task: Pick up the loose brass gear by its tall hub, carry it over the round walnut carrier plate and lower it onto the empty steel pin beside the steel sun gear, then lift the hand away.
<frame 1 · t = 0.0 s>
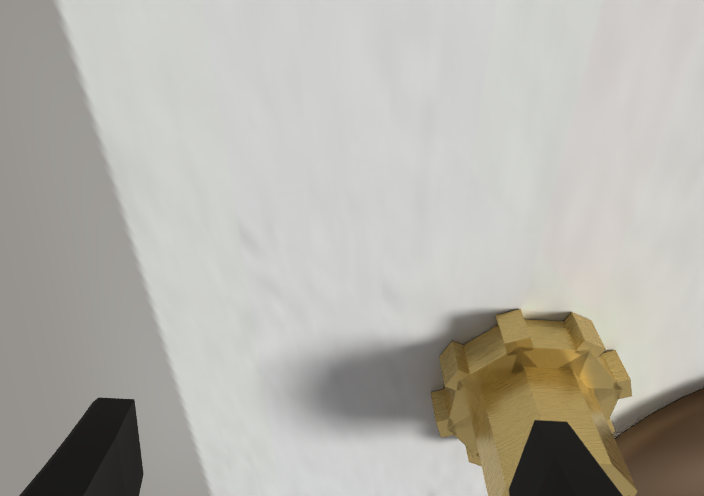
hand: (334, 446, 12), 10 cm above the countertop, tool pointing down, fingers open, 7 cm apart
brass gear: (523, 379, 25), on the countertop
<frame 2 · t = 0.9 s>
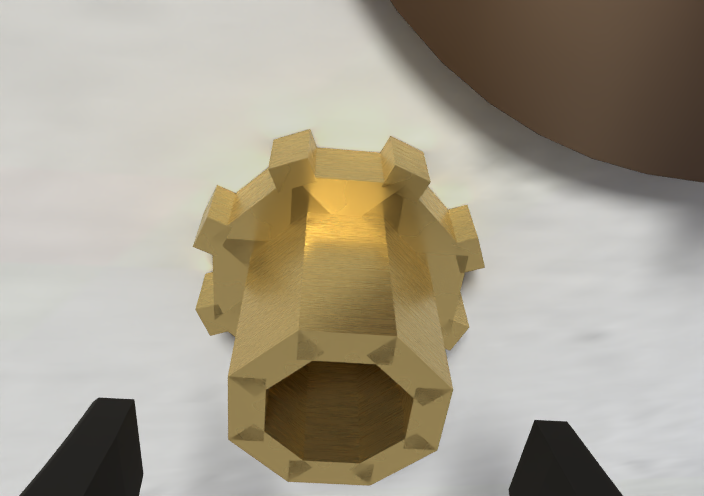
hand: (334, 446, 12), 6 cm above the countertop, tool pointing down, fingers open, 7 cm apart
brass gear: (337, 254, 17), on the countertop
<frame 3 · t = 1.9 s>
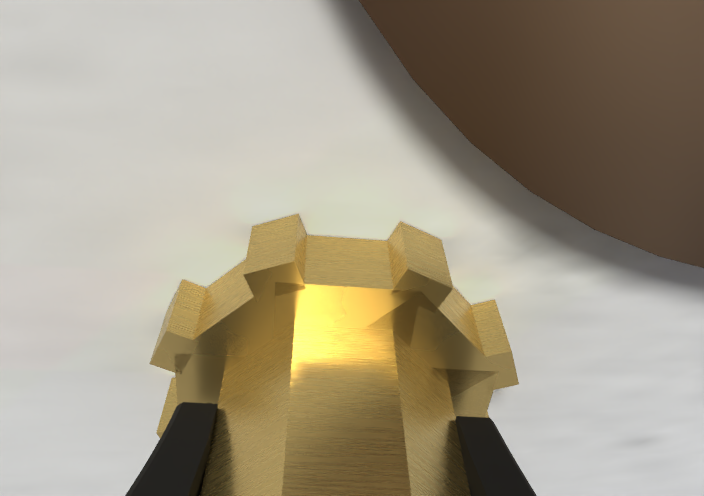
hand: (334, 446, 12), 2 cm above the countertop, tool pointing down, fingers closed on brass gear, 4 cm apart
brass gear: (333, 355, 14), on the countertop, touching gripper
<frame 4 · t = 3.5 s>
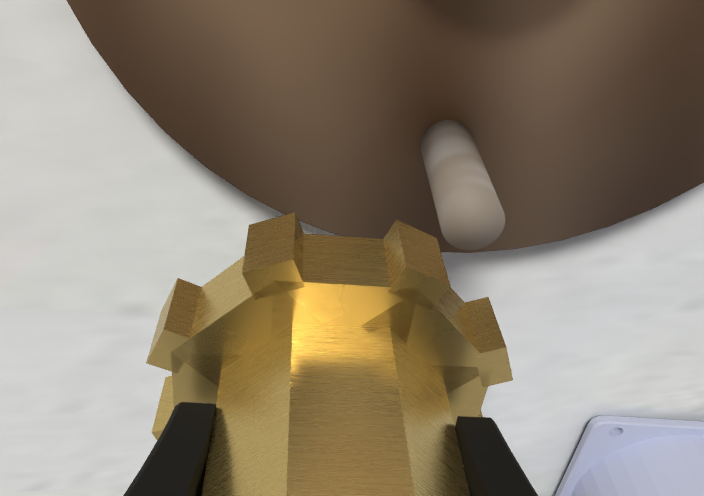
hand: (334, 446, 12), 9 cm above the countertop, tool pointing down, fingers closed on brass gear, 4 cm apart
brass gear: (328, 353, 14), point 7 cm above the countertop, touching gripper
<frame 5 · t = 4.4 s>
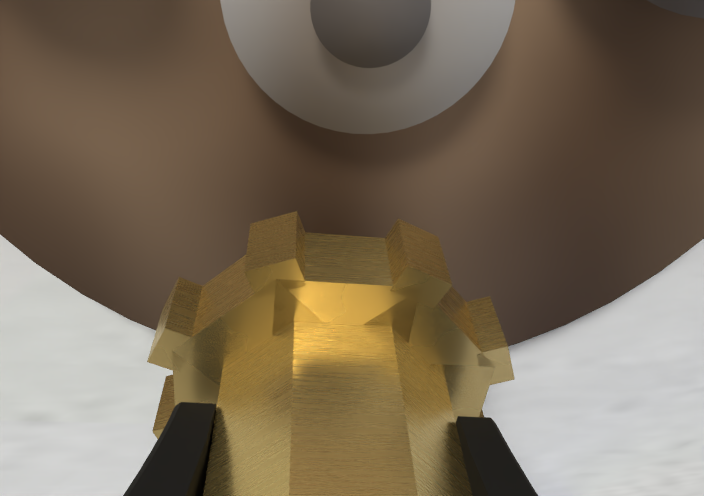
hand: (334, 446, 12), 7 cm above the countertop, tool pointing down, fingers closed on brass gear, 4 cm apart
brass gear: (329, 352, 14), point 4 cm above the countertop, touching gripper
when the fingers open (5 cm above the countertop, at t = 5.3 s): brass gear drops 1 cm, resting on carrier.
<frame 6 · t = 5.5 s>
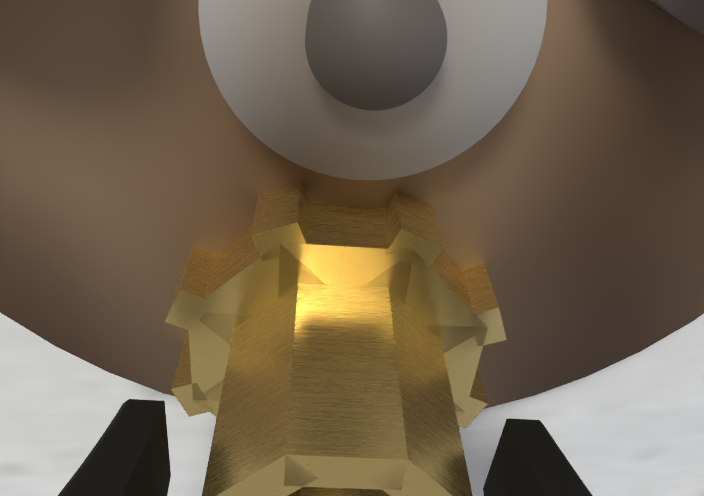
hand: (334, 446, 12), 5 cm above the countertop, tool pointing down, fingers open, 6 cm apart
brass gear: (335, 318, 15), point 1 cm above the countertop, touching carrier
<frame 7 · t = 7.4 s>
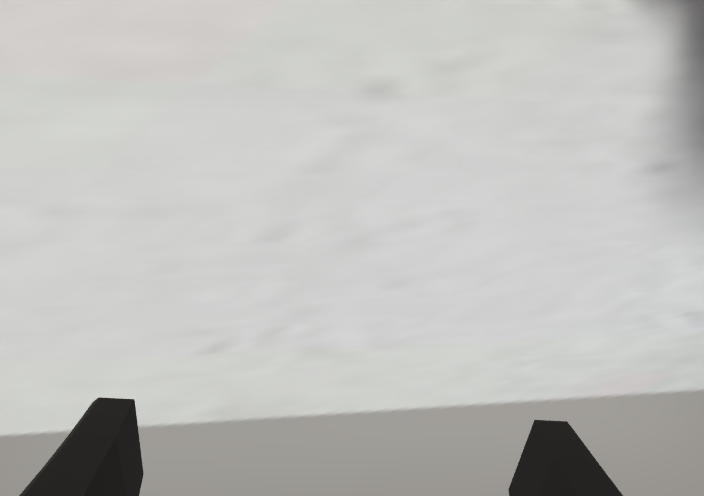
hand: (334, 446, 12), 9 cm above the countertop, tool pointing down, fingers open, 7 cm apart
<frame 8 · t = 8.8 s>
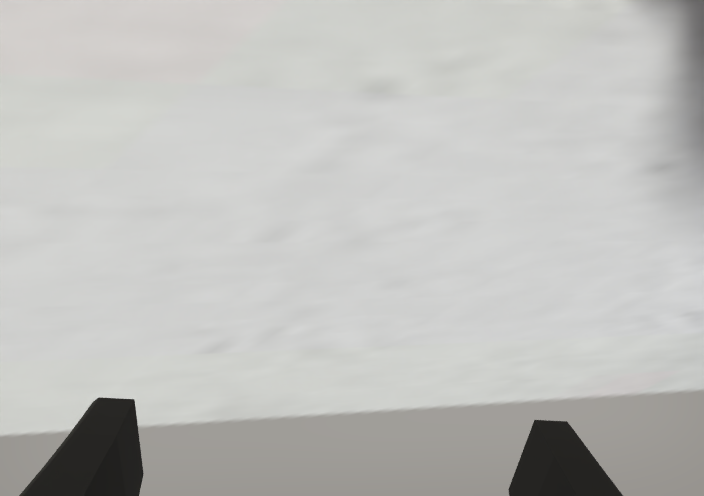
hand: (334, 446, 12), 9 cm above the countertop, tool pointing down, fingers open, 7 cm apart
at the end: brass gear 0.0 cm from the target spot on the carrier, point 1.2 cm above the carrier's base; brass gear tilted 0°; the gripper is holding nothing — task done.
